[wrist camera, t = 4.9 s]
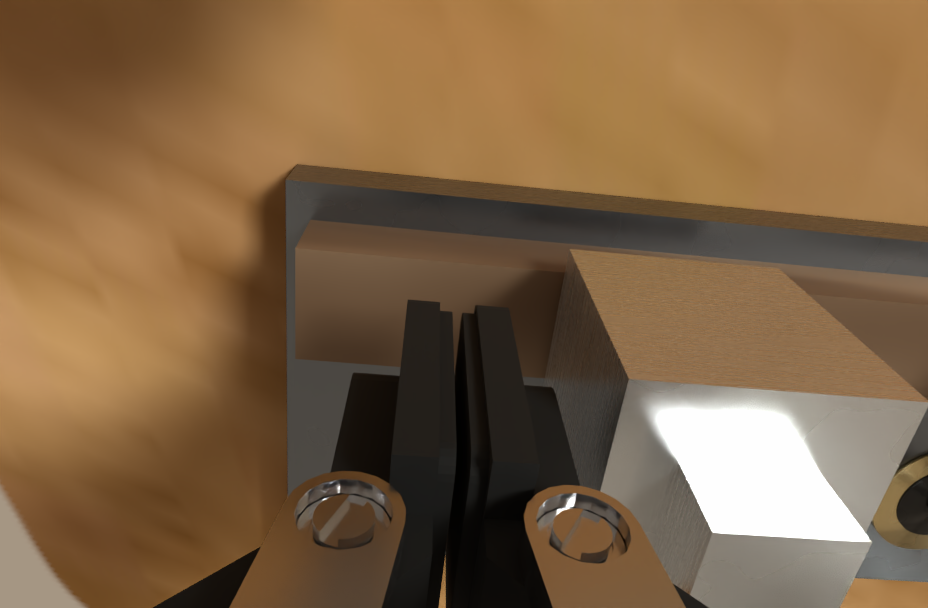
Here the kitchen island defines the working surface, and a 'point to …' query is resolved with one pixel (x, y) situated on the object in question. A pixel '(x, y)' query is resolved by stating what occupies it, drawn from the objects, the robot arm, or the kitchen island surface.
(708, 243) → the bolt plate
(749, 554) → the sliding leg
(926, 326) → the frame
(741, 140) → the kitchen island surface
